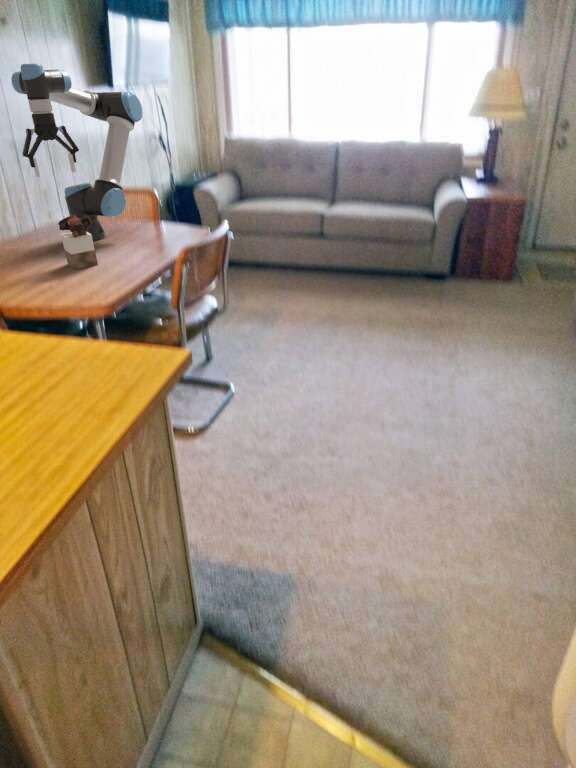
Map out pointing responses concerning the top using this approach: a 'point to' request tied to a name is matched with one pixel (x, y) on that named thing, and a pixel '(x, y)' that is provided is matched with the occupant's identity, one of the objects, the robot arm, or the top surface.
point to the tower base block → (81, 259)
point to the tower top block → (77, 243)
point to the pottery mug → (75, 225)
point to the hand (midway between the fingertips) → (56, 174)
